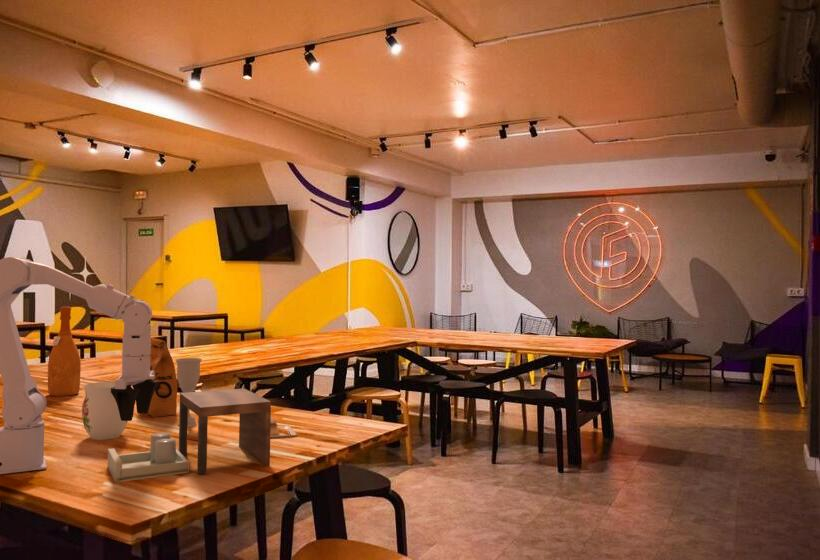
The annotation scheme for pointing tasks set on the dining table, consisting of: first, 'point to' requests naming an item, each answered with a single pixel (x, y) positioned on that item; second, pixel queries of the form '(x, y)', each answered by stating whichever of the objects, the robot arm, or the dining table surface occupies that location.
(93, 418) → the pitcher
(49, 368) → the wine bottle
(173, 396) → the coffee package
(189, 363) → the chalice
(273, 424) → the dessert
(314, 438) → the dining table surface
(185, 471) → the tray
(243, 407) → the miniature side table
